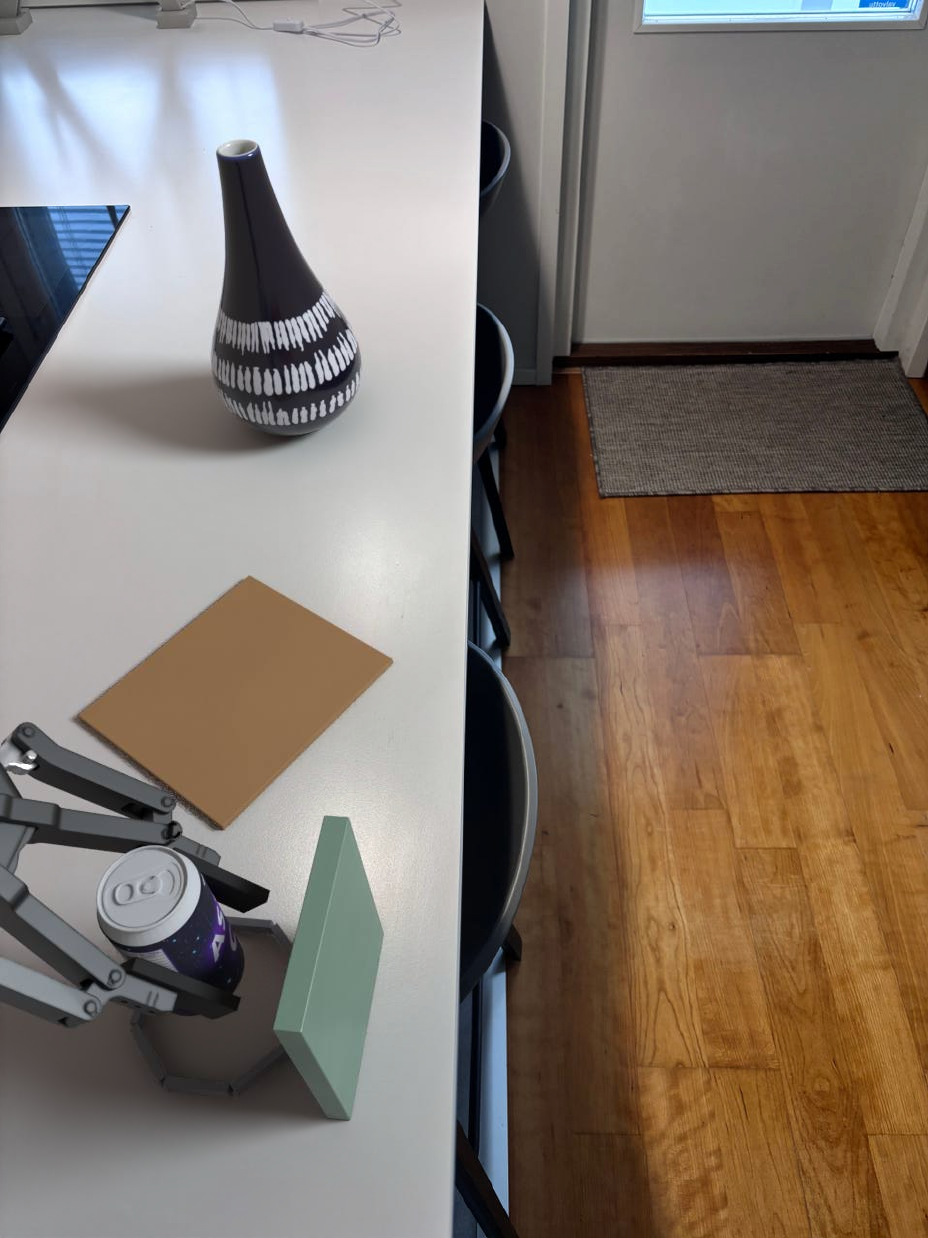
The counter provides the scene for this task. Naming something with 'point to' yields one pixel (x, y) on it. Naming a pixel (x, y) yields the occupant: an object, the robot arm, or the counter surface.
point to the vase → (275, 314)
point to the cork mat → (235, 698)
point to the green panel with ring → (313, 982)
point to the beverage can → (168, 918)
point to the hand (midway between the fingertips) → (241, 953)
